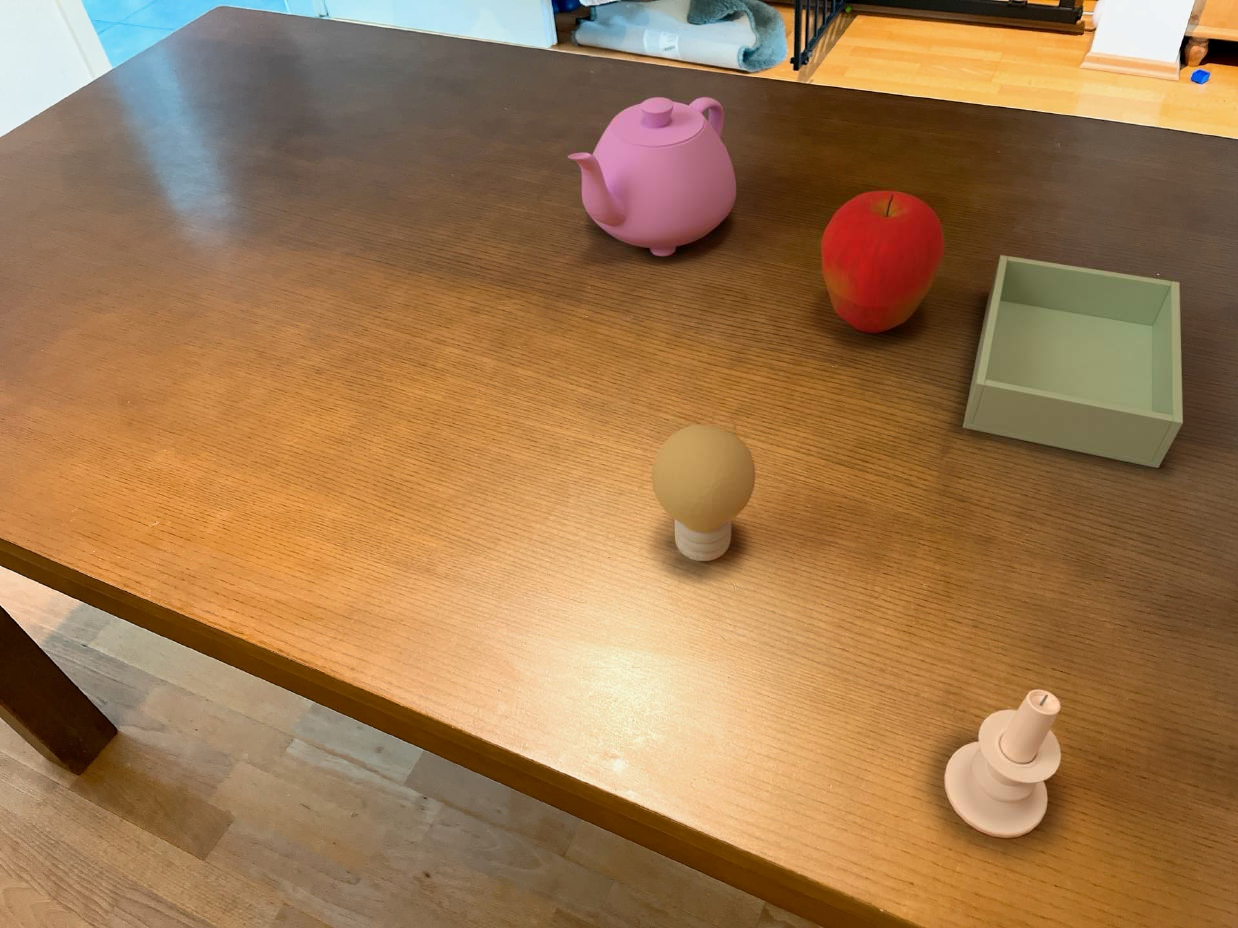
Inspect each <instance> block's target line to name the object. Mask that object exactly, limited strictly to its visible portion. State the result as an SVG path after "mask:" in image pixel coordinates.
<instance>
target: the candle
mask: <svg viewBox="0 0 1238 928" xmlns="http://www.w3.org/2000/svg"><path fill="white" fill-rule="evenodd" d="M1060 710H1061V702H1060V700H1059V699H1058V697H1056V696H1055V695H1054V694H1052V692H1050V691H1047V690H1045V689H1039V688H1037V689H1032V690H1030V691H1029V692H1028V693H1027V695H1026V696H1025V697H1024V699H1023V701H1022V702H1021V704H1020V705H1019V707H1018V708H1017V709H1001V710H998V711H995V712H992V713H991V714H989V715H988V716H987V717H986V718H985V719H984V720H983V722H982V723H981V725H980V726H979V731H978V733H977V734H978V735H977V737H978V738H977V739H978V741H972V742H969V743H967V744H964V745H962V746H961V747H959V749H957V750H956V751H954V753H953V754H952V756H951V757H950V759H949V760H948V762H947V764H946V767H945V771H944V775H943V782H944V790H945V793H946V796H947V799H948V801H949V803H950V805H951V806H952V809H954V811H955V812H956V814H957V815H958V816H959V817H960V818H961V819H962V820H963V821H964V822H965V823H966V824H967V825H969V826H970V827H972V828H973V829H975V830H977V831H979V832H980V833H984V834H986V835H988V836H990V837H995V838H1001V839H1003V838H1004V839H1011V838H1019V837H1022V836H1024V835H1026V834H1028V833H1030V832H1032V831H1033V830H1034V829H1035V828H1036V827H1038V825H1039V824H1040V823H1041V821H1042V819H1043V817H1044V815H1045V814H1046V812H1047V807H1048V799H1049V798H1048V791H1047V786H1046V784H1045V782H1044V781H1046V780H1048V779H1049V778H1051V777H1052V776H1053V775H1055V773H1056V772H1057V770H1058V769H1059V766H1060V764H1061V759H1062V758H1061V757H1062V753H1061V746H1060V743H1059V741H1058V738H1057V737H1056V735H1055V734H1054V732H1053V731H1052V730H1051V728H1052V726H1053V725H1054V722H1055V720H1056V718H1057V716H1058V714H1059V712H1060Z"/></svg>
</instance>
